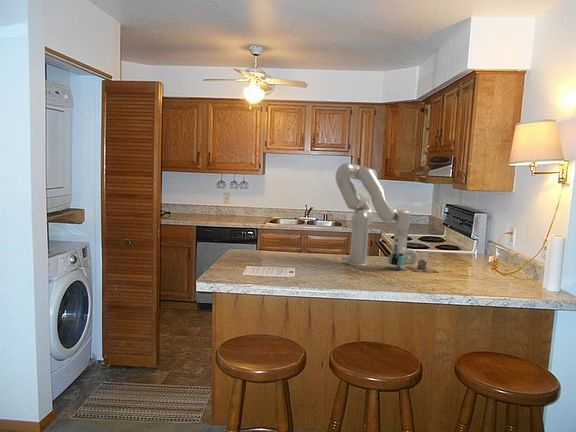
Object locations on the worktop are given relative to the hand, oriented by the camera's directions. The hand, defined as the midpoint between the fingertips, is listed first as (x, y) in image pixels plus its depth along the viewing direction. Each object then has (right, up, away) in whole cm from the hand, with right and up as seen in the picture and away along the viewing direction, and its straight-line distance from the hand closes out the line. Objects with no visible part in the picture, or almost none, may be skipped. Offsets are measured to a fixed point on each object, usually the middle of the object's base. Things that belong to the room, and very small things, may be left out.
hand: (396, 263), depth 245 cm
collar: (0, 0, 0) cm, 0 cm away
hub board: (+14, -5, +2) cm, 15 cm away
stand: (+1, -4, 0) cm, 4 cm away
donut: (+12, -3, +19) cm, 23 cm away
